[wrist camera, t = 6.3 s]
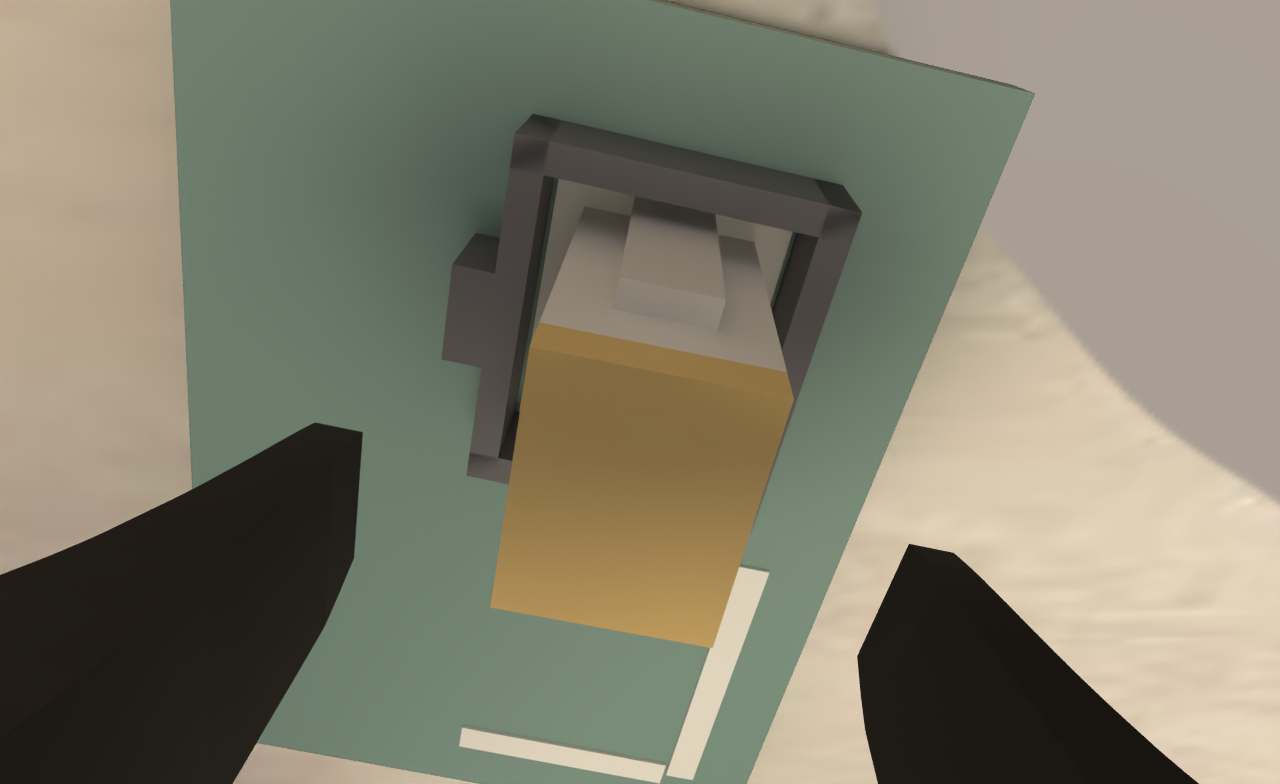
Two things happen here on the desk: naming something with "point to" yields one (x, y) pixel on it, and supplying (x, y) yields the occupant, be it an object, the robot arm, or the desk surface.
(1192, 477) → the desk surface
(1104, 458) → the desk surface
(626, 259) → the plug
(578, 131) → the board
